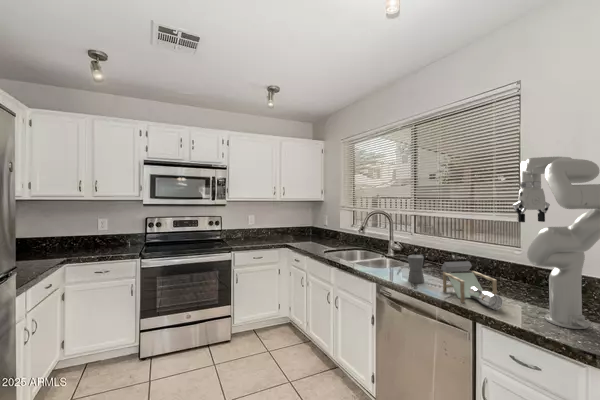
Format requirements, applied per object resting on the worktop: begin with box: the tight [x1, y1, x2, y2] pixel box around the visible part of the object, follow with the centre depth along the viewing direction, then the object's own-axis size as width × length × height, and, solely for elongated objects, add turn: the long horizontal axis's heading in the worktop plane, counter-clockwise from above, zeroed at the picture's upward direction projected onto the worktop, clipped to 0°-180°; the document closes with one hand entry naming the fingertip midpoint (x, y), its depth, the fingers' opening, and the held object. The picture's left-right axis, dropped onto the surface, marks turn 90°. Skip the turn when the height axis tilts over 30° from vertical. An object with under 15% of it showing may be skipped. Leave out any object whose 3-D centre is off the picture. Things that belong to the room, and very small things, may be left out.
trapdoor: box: [440, 260, 484, 300], centre depth 151 cm, size 20×14×5 cm
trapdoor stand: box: [442, 270, 498, 304], centre depth 147 cm, size 17×17×10 cm
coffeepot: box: [407, 251, 426, 284], centre depth 175 cm, size 15×9×18 cm, turn 121°
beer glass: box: [468, 287, 504, 311], centre depth 136 cm, size 7×7×15 cm
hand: (531, 221), depth 137 cm, fingers open, 9 cm apart
